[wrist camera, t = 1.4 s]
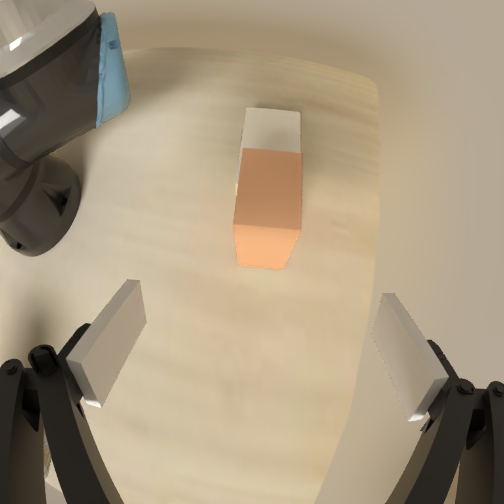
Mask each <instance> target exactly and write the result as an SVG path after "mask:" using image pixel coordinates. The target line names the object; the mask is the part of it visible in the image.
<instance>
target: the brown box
mask: <svg viewBox="0 0 504 504" xmlns="http://www.w3.org/2000/svg"><path fill="white" fill-rule="evenodd" d="M301 221H302V153H295V152H286V151H276V150H265V149H253V148H243V150H242V158H241V165H240V173H239V181H238V188H237V196H236V204H235V212H234V220H233V228H234V236H235V244H236V252H237V260H238V265H240V266H252V267H263V268H274V269H283V268H284V266H285V264H286V261H287V259H288V257H289V255H290V253H291V251H292V249H293V247H294V245H295V243H296V240H297V238H298V236H299V234H300V232H301Z"/></svg>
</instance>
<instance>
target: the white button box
mask: <svg viewBox="0 0 504 504" xmlns="http://www.w3.org/2000/svg"><path fill="white" fill-rule="evenodd" d="M300 147H301V134H300V112H295V111H286V110H277V109H266V108H253V107H246V113H245V120H244V126H243V131H242V137H241V147H240V154H239V161H238V169H237V176H236V183H235V185H236V196H237V188H238V181H239V173H240V165H241V158H242V150H243V148H253V149H265V150H276V151H286V152H295V153H300Z"/></svg>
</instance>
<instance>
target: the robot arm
mask: <svg viewBox="0 0 504 504" xmlns="http://www.w3.org/2000/svg"><path fill="white" fill-rule="evenodd" d="M129 102H130V90H129V85H128V80H127V74H126V69H125V65H124V59H123V55H122V50H121V46H120V40H119V34H118V28H117V23H116V18H115V15H114V13H112V12H110V13H102V14H101V15H100V16H99V15H98V13H97V10H96V7H95V4H94V2H92V1H89V0H0V234H1V236H2V237H3V238H4V240H5V241H6V242H7V244H8V245H9V246H10V247H11V248H12V249H14V250H15V251H17V252H19V253H21V254H23V255H26V256H38V255H41V254H43V253H45V252H47V251H48V250H50V249H51V248H53V247H54V246H55V245H56V244H57V243H58V242H59V241H60V240H61V239H62V237H63V236H64V235H65V233H66V232H67V230H68V229H69V227H70V225H71V224H72V222H73V219H74V217H75V215H76V212H77V209H78V205H79V200H80V183H79V180H78V177H77V175H76V174H75V172H74V171H73V170H72V169H71V168H70V167H69V166H68V164H66V163H65V162H64V161H62V160H60V159H57V158H55V157H53V156H50V155H48V154H49V153H51V152H53V151H54V150H56V149H58V148H59V147H61V146H63V145H64V144H66V143H68V142H70V141H71V140H73V139H75V138H77V137H78V136H80V135H82V134H84V133H86V132H88V131H90V130H91V129H93V128H95V129H97V128H99V127H100V126H101V124H103V123H104V122H106V121H108V120H110V119H112V118H114V117H116V116H117V115H119V114H121V113H122V112H124V111H125V110H126V108H127V107H128V105H129ZM145 324H146V316H145V310H144V304H143V298H142V292H141V285H140V281H139V280H128V279H127V281H126V282H125V283H124V284H123V285H122V287H121V288H120V289H119V290H118V291H117V293H116V294H115V295H114V296H113V298H112V299H111V300H110V301H109V303H108V304H107V305H106V306H105V308H104V309H103V310H102V311H101V313H100V314H99V315H98V316H97V318H96V319H95V320H94V322H93V323H92V324H88V323H85V324H84V325H82V326H81V327H79V328H78V329H77V330H76V332H75V333H74V334H73V337H71V338H70V339H69V340H68V342H67V343H66V344H65V346H64V347H63V348H62V350H61V351H60V352H59V353H58V355H56V352H55V350H54V348H53V347H52V346H50V345H46V344H45V345H39V346H37V347H35V348H33V349H32V350H31V351H30V353H29V354H28V360H29V362H30V364H31V366H32V368H24V366H23V365H22V363H21V361H20V360H18V359H10V360H8V361H6V362H4V363H3V364H2V366H1V368H0V504H46V494H45V481H44V430H45V434H46V438H47V442H48V446H49V450H50V454H51V457H52V461H53V464H54V468H55V471H56V474H57V477H58V480H59V483H60V486H61V489H62V492H63V494H64V497H65V499H66V502H67V504H124V502H123V501H122V499H121V497H120V495H119V493H118V491H117V489H116V487H115V485H114V483H113V481H112V479H111V477H110V475H109V473H108V471H107V469H106V467H105V465H104V462H103V460H102V458H101V456H100V453H99V451H98V448H97V446H96V444H95V441H94V439H93V436H92V433H91V431H90V428H89V425H88V422H87V420H86V417H85V414H84V411H83V408H82V405H81V403H80V402H79V401H80V400H81V398H82V396H83V397H84V398H85V400H86V402H87V404H90V405H93V406H97V407H100V408H102V406H103V404H104V402H105V400H106V398H107V396H108V394H109V392H110V390H111V388H112V386H113V384H114V382H115V380H116V378H117V376H118V374H119V372H120V370H121V369H122V367H123V365H124V363H125V361H126V359H127V357H128V355H129V353H130V351H131V350H132V348H133V346H134V344H135V342H136V340H137V339H138V337H139V335H140V333H141V331H142V329H143V328H144V326H145ZM371 335H372V337H373V340H374V342H375V344H376V346H377V348H378V350H379V353H380V355H381V357H382V360H383V362H384V364H385V367H386V369H387V371H388V373H389V376H390V378H391V381H392V383H393V385H394V388H395V390H396V393H397V395H398V398H399V400H400V403H401V405H402V408H403V410H404V413H405V415H406V418H407V421H408V422H409V421H414V420H419V419H422V418H423V417H424V415H425V413H426V412H427V411H428V412H429V415H430V418H429V419H428V421H427V422H426V423H425V424H424V426H423V427H422V429H421V430H420V431H423V432H422V435H421V437H420V439H419V441H418V444H417V446H416V448H415V450H414V452H413V454H412V456H411V458H410V460H409V462H408V464H407V466H406V468H405V470H404V472H403V474H402V476H401V478H400V480H399V482H398V483H397V485H396V487H395V488H394V490H393V492H392V494H391V495H390V497H389V499H388V500H387V502H386V503H385V504H443V503H444V501H445V499H446V496H447V494H448V491H449V488H450V486H451V484H452V481H453V478H454V475H455V473H456V469H457V467H458V464H459V461H460V467H459V477H458V486H457V494H456V500H455V504H504V384H503V383H501V382H498V381H493V382H491V383H490V384H489V386H488V387H487V389H476V388H475V387H474V385H473V384H472V383H471V382H470V381H468V380H466V379H462V378H461V379H459V377H458V376H457V374H456V372H455V371H454V369H453V367H452V366H451V365H450V363H449V361H448V360H447V358H446V356H445V355H444V354H443V352H442V351H441V349H440V347H439V346H438V345H437V344H436V343H435V342H433V341H432V340H426V339H425V337H424V336H423V334H422V333H421V331H420V330H419V328H418V327H417V325H416V324H415V322H414V321H413V319H412V318H411V316H410V315H409V313H408V312H407V310H406V309H405V308H404V306H403V305H402V303H401V302H400V300H399V299H398V298H397V296H396V295H395V293H383V294H382V298H381V301H380V305H379V308H378V311H377V315H376V318H375V321H374V325H373V328H372V331H371ZM423 429H424V430H423Z"/></svg>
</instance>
